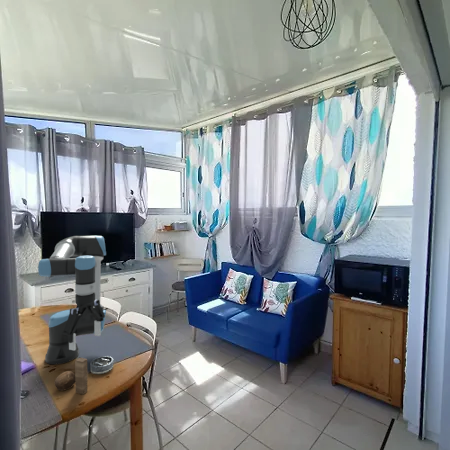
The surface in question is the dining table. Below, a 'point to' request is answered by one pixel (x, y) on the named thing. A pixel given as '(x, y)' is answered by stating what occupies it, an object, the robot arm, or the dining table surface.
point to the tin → (101, 365)
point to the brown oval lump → (65, 380)
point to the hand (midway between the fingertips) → (85, 342)
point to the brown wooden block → (81, 375)
